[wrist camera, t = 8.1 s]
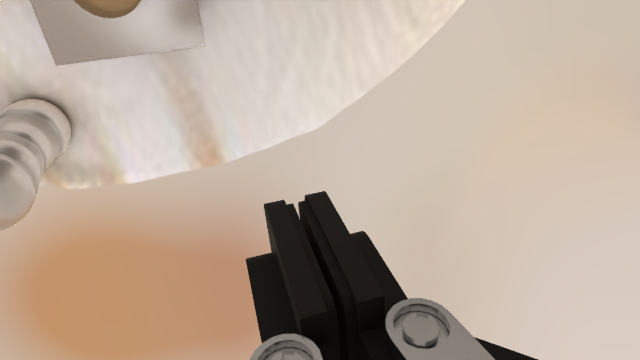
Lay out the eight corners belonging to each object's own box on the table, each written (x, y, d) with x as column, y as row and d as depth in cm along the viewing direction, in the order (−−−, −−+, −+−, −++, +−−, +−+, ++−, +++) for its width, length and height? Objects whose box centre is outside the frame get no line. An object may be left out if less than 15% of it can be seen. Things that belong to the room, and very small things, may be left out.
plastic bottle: (78, 101, 44) (13, 196, 27) (72, 157, 47) (9, 275, 30) (6, 85, 41) (-116, 179, 25) (4, 145, 44) (-107, 267, 27)
